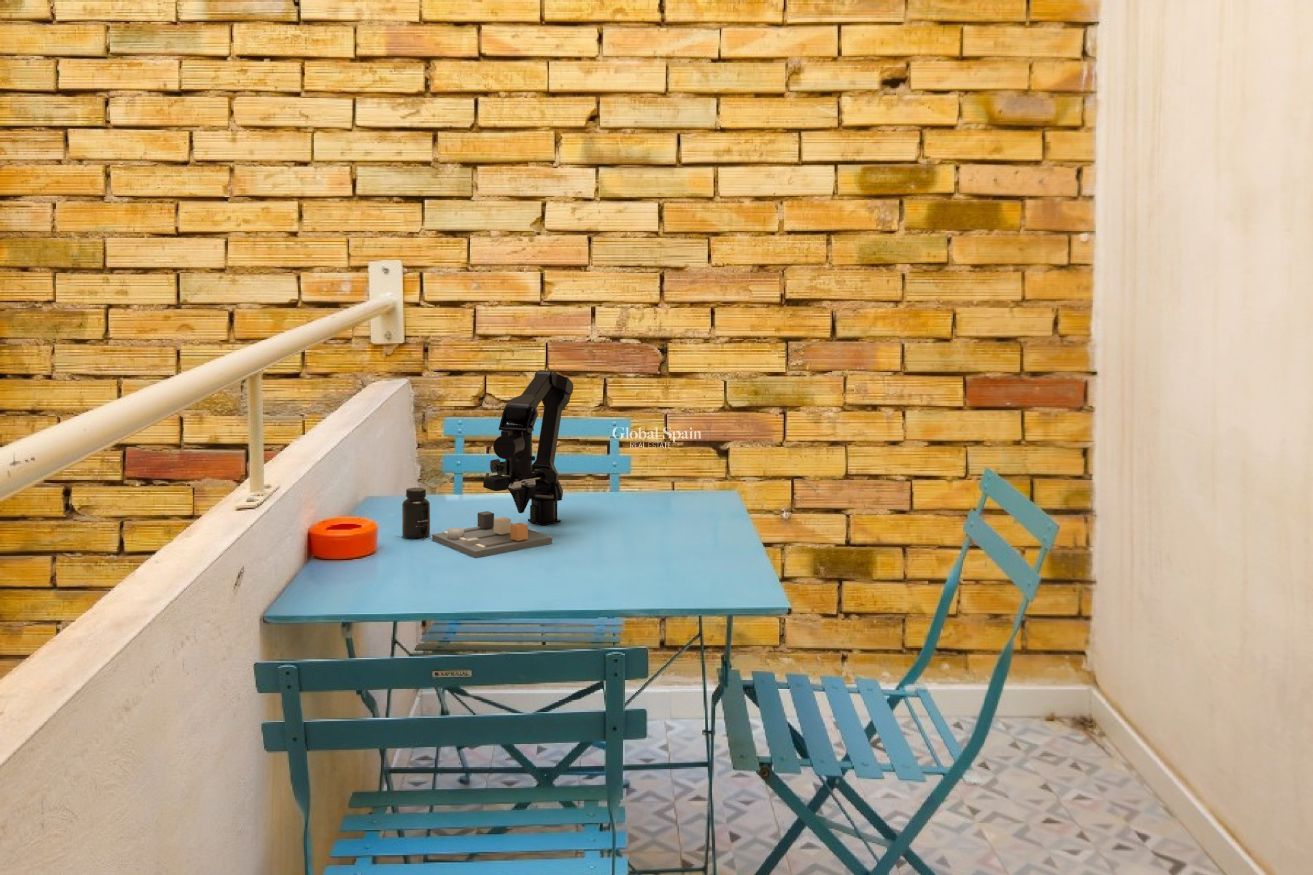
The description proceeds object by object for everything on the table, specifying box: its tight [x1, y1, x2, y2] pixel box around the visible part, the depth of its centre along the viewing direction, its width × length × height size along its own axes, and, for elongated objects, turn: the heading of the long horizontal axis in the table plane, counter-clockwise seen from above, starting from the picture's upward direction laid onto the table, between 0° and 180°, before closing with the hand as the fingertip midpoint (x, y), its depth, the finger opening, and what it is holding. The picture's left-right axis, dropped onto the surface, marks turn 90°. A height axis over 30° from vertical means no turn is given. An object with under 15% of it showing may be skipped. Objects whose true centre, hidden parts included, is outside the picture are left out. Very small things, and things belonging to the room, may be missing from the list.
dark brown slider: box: [477, 510, 495, 529], centre depth 311 cm, size 3×3×4 cm
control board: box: [431, 522, 553, 559], centre depth 303 cm, size 22×20×4 cm
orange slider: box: [511, 522, 529, 541], centre depth 299 cm, size 3×3×4 cm
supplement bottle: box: [401, 487, 431, 540], centre depth 307 cm, size 7×7×12 cm
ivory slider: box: [494, 516, 512, 535], centre depth 305 cm, size 3×3×4 cm
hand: (520, 512), depth 308 cm, fingers closed
